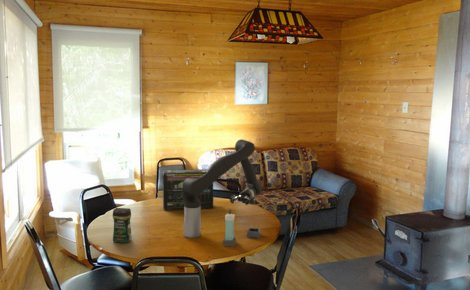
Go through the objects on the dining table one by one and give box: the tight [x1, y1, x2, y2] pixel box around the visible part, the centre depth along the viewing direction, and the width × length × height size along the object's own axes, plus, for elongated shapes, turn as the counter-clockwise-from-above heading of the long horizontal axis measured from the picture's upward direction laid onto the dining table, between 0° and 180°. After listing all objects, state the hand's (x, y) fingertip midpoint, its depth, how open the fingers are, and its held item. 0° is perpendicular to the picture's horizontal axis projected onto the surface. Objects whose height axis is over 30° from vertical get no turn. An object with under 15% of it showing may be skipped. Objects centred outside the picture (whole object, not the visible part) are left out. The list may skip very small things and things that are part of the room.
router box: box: [162, 168, 214, 211], centre depth 295 cm, size 36×11×27 cm, turn 99°
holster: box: [222, 236, 237, 248], centre depth 227 cm, size 6×6×3 cm
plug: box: [224, 208, 236, 241], centre depth 226 cm, size 4×4×20 cm
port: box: [246, 227, 261, 239], centre depth 240 cm, size 7×7×4 cm
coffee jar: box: [112, 207, 133, 244], centre depth 229 cm, size 10×8×19 cm
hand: (239, 202), depth 240 cm, fingers open, 8 cm apart
